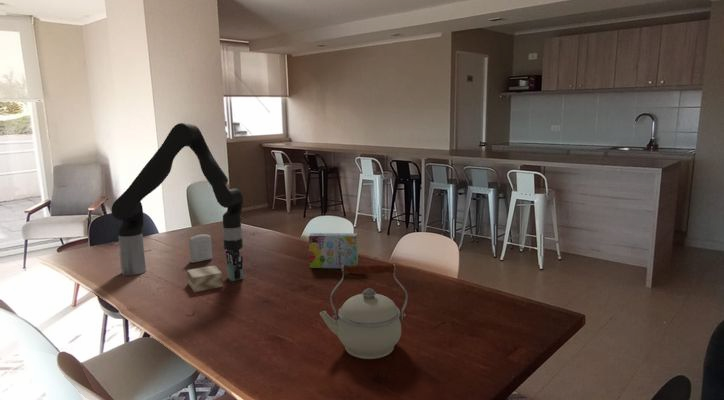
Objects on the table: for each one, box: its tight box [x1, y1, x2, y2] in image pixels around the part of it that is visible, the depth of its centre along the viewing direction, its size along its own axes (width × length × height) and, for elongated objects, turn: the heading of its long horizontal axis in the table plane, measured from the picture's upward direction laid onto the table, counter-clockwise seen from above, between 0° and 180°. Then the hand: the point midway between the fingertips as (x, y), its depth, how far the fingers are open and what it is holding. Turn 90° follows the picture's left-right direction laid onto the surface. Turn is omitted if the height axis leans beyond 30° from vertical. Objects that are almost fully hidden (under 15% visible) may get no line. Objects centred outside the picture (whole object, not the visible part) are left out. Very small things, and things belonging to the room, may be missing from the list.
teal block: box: [226, 262, 244, 282], centre depth 191 cm, size 5×5×6 cm
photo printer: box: [188, 234, 213, 263], centre depth 216 cm, size 10×4×12 cm, turn 134°
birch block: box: [186, 265, 224, 293], centre depth 184 cm, size 11×11×6 cm
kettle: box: [319, 263, 409, 360], centre depth 130 cm, size 25×18×25 cm
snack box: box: [308, 232, 359, 269], centre depth 204 cm, size 21×6×15 cm, turn 84°
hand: (235, 276), depth 192 cm, fingers closed on teal block, 5 cm apart
